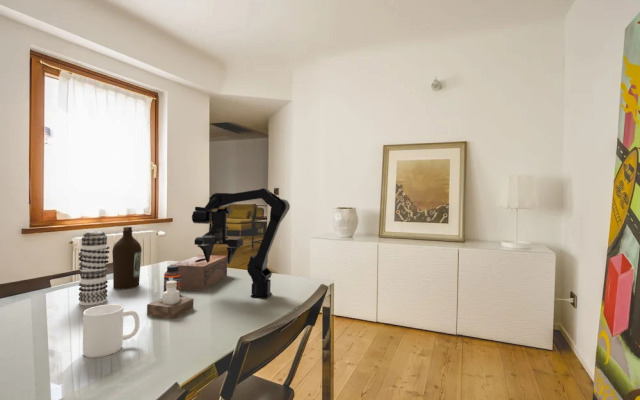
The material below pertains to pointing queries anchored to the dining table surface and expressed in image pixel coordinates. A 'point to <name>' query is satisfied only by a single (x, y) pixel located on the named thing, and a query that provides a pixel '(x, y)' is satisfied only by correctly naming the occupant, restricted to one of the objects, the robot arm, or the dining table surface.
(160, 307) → the socket block
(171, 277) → the supplement bottle
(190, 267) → the tissue box cover
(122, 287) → the olive oil
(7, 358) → the dining table surface
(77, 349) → the dining table surface
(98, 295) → the decorative candle
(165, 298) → the salt shaker
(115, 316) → the cup
